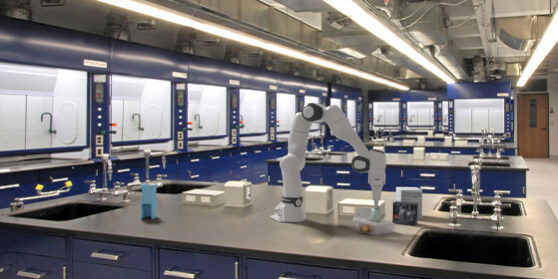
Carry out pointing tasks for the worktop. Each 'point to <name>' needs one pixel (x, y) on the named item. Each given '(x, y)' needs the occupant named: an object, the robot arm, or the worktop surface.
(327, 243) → the worktop surface
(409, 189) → the supplement box
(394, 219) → the small box
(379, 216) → the pump canister
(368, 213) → the hinge
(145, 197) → the blue tower block
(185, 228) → the worktop surface
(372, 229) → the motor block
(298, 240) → the worktop surface
